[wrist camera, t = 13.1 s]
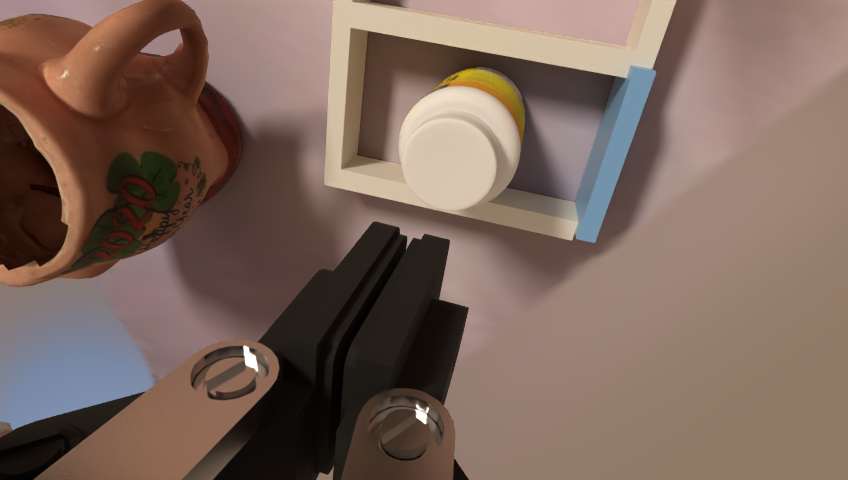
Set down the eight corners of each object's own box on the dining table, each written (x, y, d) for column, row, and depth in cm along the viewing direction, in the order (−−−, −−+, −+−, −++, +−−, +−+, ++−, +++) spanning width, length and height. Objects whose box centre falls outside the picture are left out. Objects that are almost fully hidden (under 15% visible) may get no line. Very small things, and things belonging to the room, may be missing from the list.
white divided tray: (719, -170, 21) (756, -204, 17) (585, 223, 30) (591, 252, 26) (368, -212, 23) (337, -250, 19) (341, 169, 32) (317, 190, 28)
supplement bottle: (466, 44, 27) (429, 66, 18) (546, 103, 27) (548, 152, 18) (414, 126, 29) (359, 180, 21) (487, 178, 30) (465, 253, 21)
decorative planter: (177, -95, 27) (-123, -173, 15) (342, 64, 29) (198, 111, 17) (65, 151, 36) (-177, 229, 24) (196, 259, 38) (34, 382, 26)
